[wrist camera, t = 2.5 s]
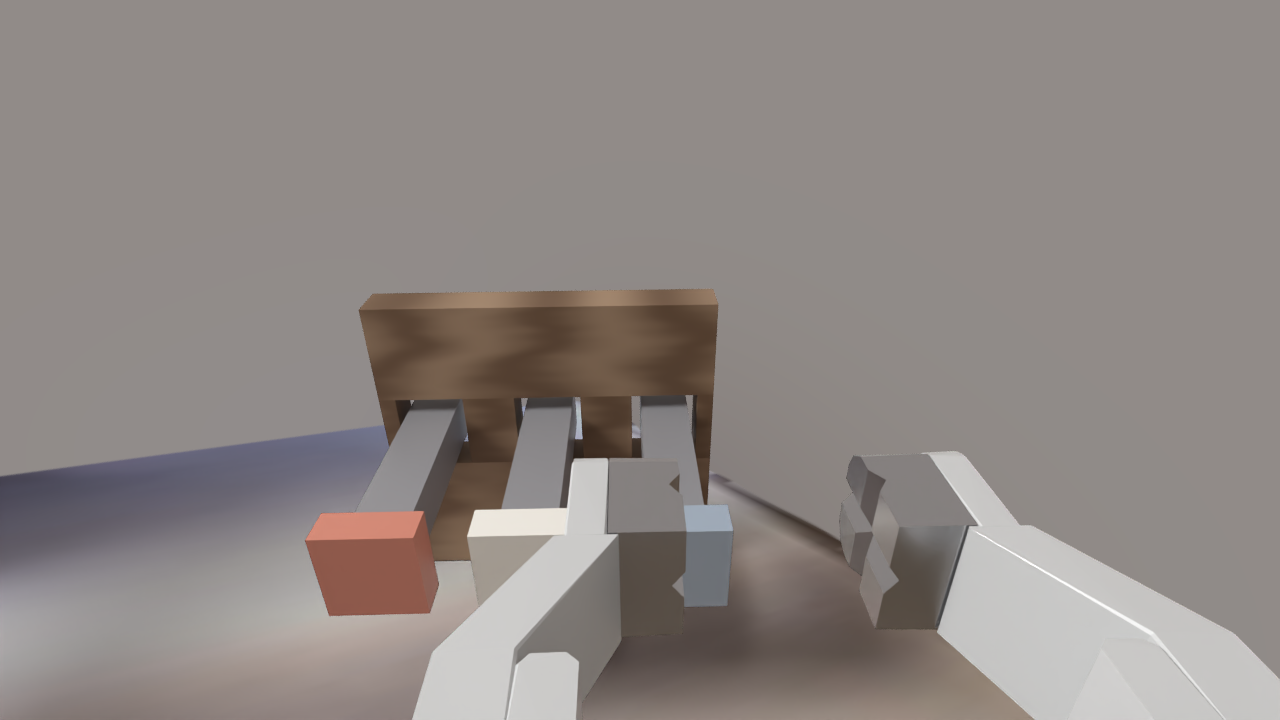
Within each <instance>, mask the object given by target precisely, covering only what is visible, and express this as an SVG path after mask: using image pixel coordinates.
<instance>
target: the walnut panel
mask: <svg viewBox="0 0 1280 720" xmlns="http://www.w3.org/2000/svg"><path fill="white" fill-rule="evenodd" d="M359 313H360V318H361V322H362V327H363V331H364V336H365V340H366V345H367V349H368V354H369V358H370V363H371V367H372V372H373V376H374V381H375V385H376V390H377V394H378V398H379V402H380V408H381V412H382V417H383V421H384V425H385V430H386V434H387V439H388V443H389V447H390V445H391V443H392V441H393V440H394V438H395V436H396V434H397V432H398V430H399V428H400V426H401V425H402V423H403V421H404V419H405V417H406V415H407V413H408V411H409V410H410V408H411V403H410V400H437V399H462V401H463V407H464V414H465V420H466V427H467V433H468V440H469V442H464V443H463V446H462V449H461V451H460V454H459V457H458V460H457V462H456V465H455V468H454V470H453V473H452V476H451V479H450V481H449V484H448V487H447V490H446V492H445V495H444V498H443V501H442V503H441V506H440V509H439V512H438V514H437V517H436V520H435V522H434V525H433V528H432V531H431V533H430V536H429V539H430V544H431V548H432V553H433V558H434V561H446V560H471V557H470V551H469V546H468V540H467V535H468V532H469V528H470V525H471V522H472V518H473V515H474V511H475V510H497V509H501V508H502V504H503V500H504V496H505V491H506V487H507V483H508V479H509V475H510V471H511V466H512V462H513V458H514V454H515V450H516V446H517V441H518V437H519V433H520V429H521V425H522V421H523V413H522V404H521V398H549V397H580V398H581V417H582V435H583V439H576V440H575V443H574V452H573V461H574V459H582V458H607V459H608V460H609V459H610V458H642V450H641V438H632V411H631V396H661V395H693V410H692V438H693V443H694V449H695V455H696V461H697V467H698V473H699V479H700V484H701V490H702V496H703V502H704V505H707V499H708V481H709V462H710V445H711V426H712V408H713V390H714V372H715V354H716V336H717V335H716V334H717V318H718V302H717V299H716V296H715V293H714V290H713V289H675V290H672V289H671V290H603V291H539V292H538V291H537V292H536V291H535V292H465V293H464V292H463V293H399V294H398V293H395V294H372V295H371V296H370V298H369V299H368V300H367V301H366V302H365V303H364V305H363V306H362V307H361V308H360V309H359ZM573 461H572V463H573Z"/></svg>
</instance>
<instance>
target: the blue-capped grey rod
mask: <svg viewBox="0 0 1280 720" xmlns="http://www.w3.org/2000/svg"><path fill="white" fill-rule="evenodd" d="M640 430H641V450H642V458H677V460H678V465H679V472H680V481H679V493H680V494H681V495H682V496H683V504H684V513H685V521H686V530H687V537H686V572H685V573H684V574H683V575H682V578H683V588H684V598H685V599H684V607H705V606H727V603H728V591H729V578H730V566H731V554H732V541H733V527H732V522H731V518H730V513H729V509H728V505H704V502H703V496H702V490H701V484H700V479H699V473H698V467H697V461H696V455H695V449H694V443H693V438H692V432H691V426H690V420H689V414H688V408H687V403H686V397H685V395H661V396H640Z"/></svg>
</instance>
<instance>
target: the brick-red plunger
mask: <svg viewBox="0 0 1280 720" xmlns="http://www.w3.org/2000/svg"><path fill="white" fill-rule="evenodd" d="M466 435H467V427H466V420H465V414H464V407H463V401H462V399H437V400H414V402H413V404H412V406H411V408H410V410H409V411H408V413H407V415H406V417H405V419H404V421H403V423H402V425H401V426H400V428H399V430H398V432H397V434H396V436H395V438H394V440H393V441H392V443H391V445H390V447H389V449H388V451H387V453H386V455H385V456H384V458H383V460H382V462H381V464H380V466H379V468H378V470H377V472H376V473H375V475H374V477H373V479H372V481H371V483H370V485H369V487H368V488H367V490H366V492H365V494H364V496H363V498H362V500H361V502H360V503H359V505H358V507H357V509H356V511H355V513H321V515H320V516H319V518H318V520H317V521H316V523H315V525H314V526H313V528H312V530H311V531H310V533H309V535H308V536H307V538H306V540H305V542H306V545H307V548H308V551H309V554H310V557H311V561H312V564H313V567H314V570H315V573H316V576H317V579H318V582H319V585H320V588H321V592H322V595H323V598H324V601H325V604H326V607H327V610H328V613H329V616H342V615H382V614H423V613H430V611H431V608H432V605H433V602H434V598H435V595H436V592H437V589H438V586H439V583H438V578H437V573H436V568H435V563H434V558H433V553H432V548H431V544H430V539H429V536H430V533H431V531H432V528H433V525H434V522H435V520H436V517H437V514H438V512H439V509H440V506H441V503H442V501H443V498H444V495H445V492H446V490H447V487H448V484H449V481H450V479H451V476H452V473H453V470H454V468H455V465H456V462H457V460H458V457H459V454H460V451H461V449H462V446H463V443H464V440H465V438H466Z"/></svg>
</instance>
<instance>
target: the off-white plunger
mask: <svg viewBox="0 0 1280 720" xmlns="http://www.w3.org/2000/svg"><path fill="white" fill-rule="evenodd" d="M576 424H577V421H576V404H575V397H549V398H528V400H527V404H526V408H525V412H524V417H523V421H522V425H521V429H520V433H519V437H518V441H517V446H516V450H515V454H514V458H513V462H512V466H511V471H510V475H509V479H508V483H507V487H506V491H505V496H504V500H503V504H502V508H501V509H497V510H475V511H474V515H473V518H472V522H471V525H470V528H469V532H468V535H467V540H468V546H469V551H470V557H471V563H472V569H473V575H474V581H475V587H476V593H477V599H478V605H479V607H480V606H481V605H482V604H483V603H484V602H485V601H486V600H487V599H488V598H489V597H490V596H491V595H492V594H493V593H494V592H495V591H496V590H498V589H499V588H500V587H501V586H502V585H503V584H504V583H505V582H506V581H507V580H508V579H509V578H510V577H511V576H512V575H513V574H514V573H515V572H516V571H517V570H518V569H519V568H520V567H521V566H522V565H524V564H525V563H526V562H527V561H528V560H529V559H530V558H531V557H532V556H533V555H534V554H535V553H536V552H537V551H538V550H539V549H540V548H541V547H542V546H543V545H544V544H545V543H546V542H547V541H549V540H550V539H551V538H552V537H553V536H555V535H564V532H565V523H566V513H567V504H568V495H569V486H570V477H571V468H572V461H573V452H574V443H575V433H576Z"/></svg>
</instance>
